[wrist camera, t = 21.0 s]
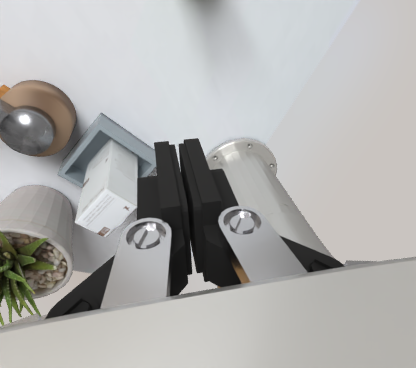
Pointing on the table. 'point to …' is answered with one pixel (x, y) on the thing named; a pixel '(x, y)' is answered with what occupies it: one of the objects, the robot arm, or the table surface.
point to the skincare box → (108, 189)
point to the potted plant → (34, 245)
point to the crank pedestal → (44, 108)
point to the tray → (95, 140)
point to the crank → (26, 128)
